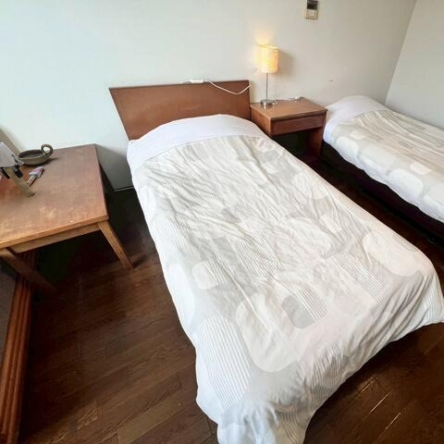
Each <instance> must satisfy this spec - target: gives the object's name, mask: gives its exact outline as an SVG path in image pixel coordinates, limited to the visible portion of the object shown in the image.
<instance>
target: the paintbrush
mask: <svg viewBox="0 0 444 444" xmlns="http://www.w3.org/2000/svg"><path fill="white" fill-rule="evenodd" d="M44 168H45V166H44V165H43V166H37V167H36V168H34V169H33V170H31V172H29V173H28V174H27V175H28V176H29V178H28V180H27V181H25V182H26V183H27V184H28V186H29V187H30V186H31V185H32V183H33V182H34V181H35V179H40V178H41V175H42V173H43V170H44Z"/></svg>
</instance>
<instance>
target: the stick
mask: <svg viewBox="0 0 444 444" xmlns="http://www.w3.org/2000/svg"><path fill="white" fill-rule="evenodd" d="M3 169H4V171H5V172H6V173H7V174H8V175H9V177H10V179H11V180H12V182H13V183H14V184H15V185H16V186H17V188H18V189H19V190H20V192H21V193H22V194H23V195H24V196H25V197H31V196H33V195H35V192H34V190H33V189H32V188H31V187H30V186H28V184H27V183H26V182H27V181H26V180H25V179H24V178H23V176H22V177H21V178H18V177H17V176H16V174H15V173H14V170H13V169H12V168H11V167H10V166H9V167H3Z"/></svg>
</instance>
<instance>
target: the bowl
mask: <svg viewBox="0 0 444 444" xmlns="http://www.w3.org/2000/svg"><path fill="white" fill-rule="evenodd" d="M44 148H48V149H49V152H46V151H45V149H44ZM53 154H54V148H53V146H52V145H50V144H48V143H43V144H42V145H40V148H39V149H38V148H36V149H33V148H32V149H27V150H24V151H20V152H18V153H17V154H15V155H16V157H17V158H18V159H19V160H21V161H22V162H24V164H23V165H29V166H34V165H41V164H43V163H45V162H46V161H48V160H49V158H50V157H51V156H52V155H53Z"/></svg>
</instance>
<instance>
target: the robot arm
mask: <svg viewBox="0 0 444 444" xmlns="http://www.w3.org/2000/svg"><path fill="white" fill-rule="evenodd" d="M16 155H17V154H15V153H14V152H13V151H12V149H10V147H8V145H7V144H5V143H4V142H3V141H0V173H1V174H2V175H3V176H4V177H5V178H6V179H7V180H10V179H11V178H10V177H9V175H8V174H7V173H6V172H5V171H4V169H3V167H9V166H10V167H11V168H12V169H13V170H14V173H15V174H16V176H17V177H18V178H21V177H22V178H23V177H24V173H23V172H22V170H21V167H22V166H23V165H25V164H24V162H22V161H21V160H19V159H18V158H17V157H16Z"/></svg>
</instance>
